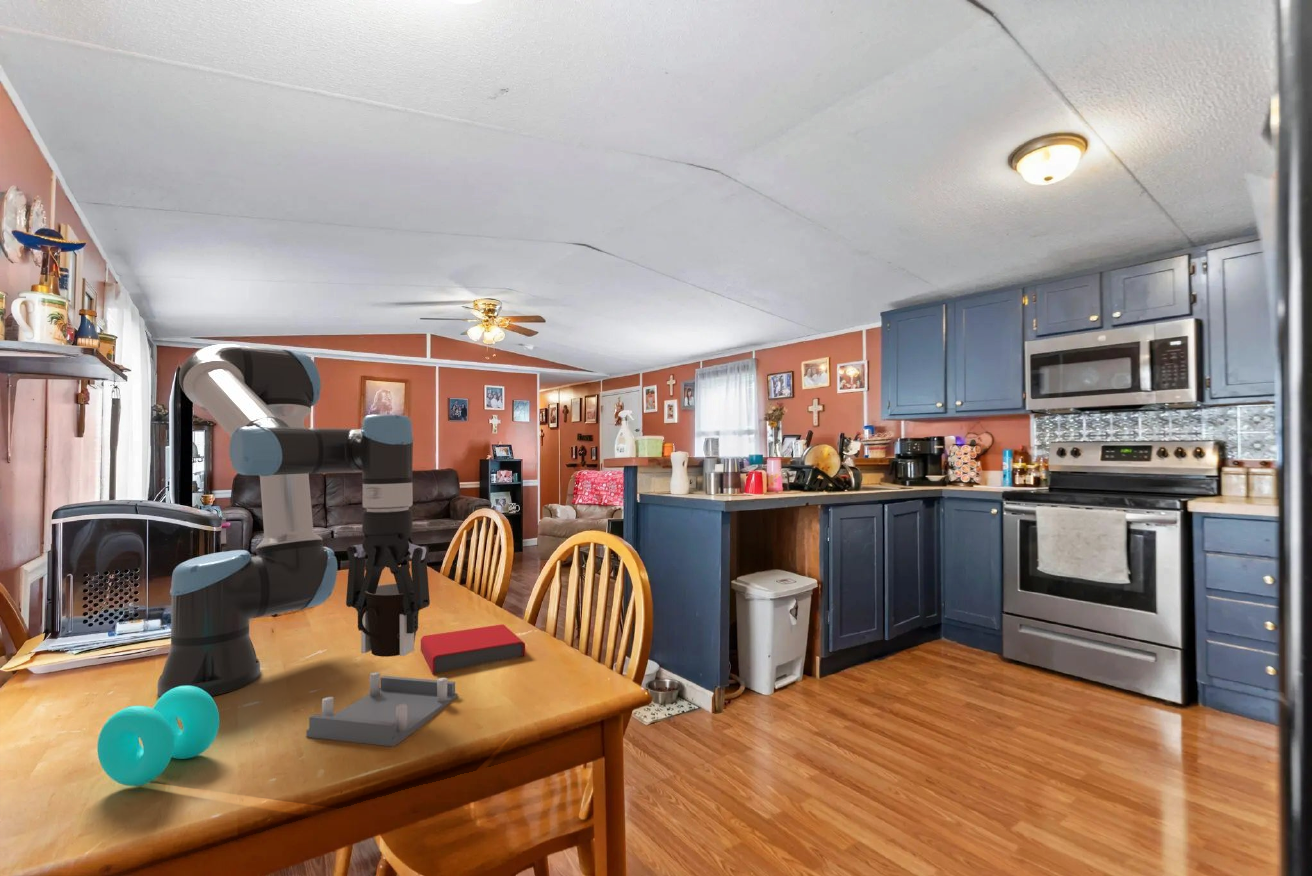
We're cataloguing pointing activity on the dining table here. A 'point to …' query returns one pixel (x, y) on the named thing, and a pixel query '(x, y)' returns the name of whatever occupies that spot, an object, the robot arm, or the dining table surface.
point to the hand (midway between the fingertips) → (387, 651)
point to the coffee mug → (384, 620)
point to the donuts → (157, 735)
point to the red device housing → (470, 647)
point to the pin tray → (383, 711)
